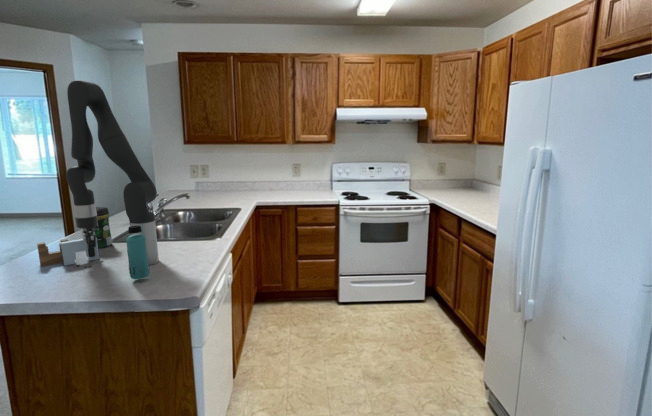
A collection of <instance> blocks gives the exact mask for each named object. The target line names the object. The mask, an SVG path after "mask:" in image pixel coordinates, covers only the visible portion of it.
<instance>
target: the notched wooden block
mask: <svg viewBox="0 0 652 416" xmlns="http://www.w3.org/2000/svg"><path fill="white" fill-rule="evenodd" d="M66 241H70V240H69V239H68V238H63V239H60V243H58V247H59V250H56V251H50V252H49V247H48V245H46V244H47V243H46V242H45V241H43V242H38V243H36V246H37V252H38V259H39V265H40V267H48V266H52V265H57V264H61V263H62V264H64V262H63V255H62V248H61V242H66Z"/></svg>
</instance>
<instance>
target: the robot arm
mask: <svg viewBox="0 0 652 416" xmlns="http://www.w3.org/2000/svg"><path fill="white" fill-rule="evenodd" d="M66 90H67V96H66V97H67V102H68V109H69V110H68V111H69V118H70V126H71V153H70V154H71V155H70V156H71V158H72V159H74V160H76V161H77V165H75V166H71V167H69V168H68V169H67V170H66V174H65V179H66V182H67V184H68V188H69V190H70V192H71V194H72V198H73V200H72V201H73V205H74V209H73V211H74V218H75V219H74V220H75V225H76V226H75V227H76V228H77V229H82V230H81V236H82V239H85V243H87V248H88V254H89V257H94V256H95V249H94V248H95V247H96V236H95V231H93V229H92V228H93V227H95V226H97V225H98V220H97V212H96V207H97V206H96V203H95V197H94V196H95V195H94V191H93V190H92V189H89V188H88V187H87V183H91V182H92V181H94V179H95V177H96V167H95V162H94V158H93V155H94V154H93V152H94V139H93V137H94V136H93V134H92V132H91V129H90V126H89V124H88V119H87V107H88V108H89V109H90V111H91V112H92V114H93V115H94V118H95V120H96V123H97V140H98V143H99V144H100V146H101V148H102V150H103V152H104V153H105V155H106V157H108V159H109V160H111V162H113V164H114V165H116V166H117V167H119V168H120V169H121V170H122V171H123V172H124V173H125V174H126V175H127V177H128V180H129V181H130V182H128V183H127V184H126V185H125V187H124V188H123V202H124V208H125V214H126V216H127V217H128V221H129V227H130V226H134V225H139V226H141V230H142V232H139V233H130V235H134V234H142V235H143V236H145V237H146V248H147V256H148V263H149V264H148V266H151V265H155V264H156V265H157V264H158V263H159V259H160V258H159V249H158V239H157V236H158V235H157V228H156V215H155V213H154V212H152V211H149V210H148V204H149V203H151V202H154V201H155V200H156V198H157V195H158V192H157V188H156V185H155V183H154V182H153V181H152V179H151V178H150V176H149V175H148V173H147V172H146V170H145V168H143V166H142V165H141V162H140V160H139V159H138V158H137V156H136V154H135V152H134V150H133V149H132V148H133V147H132V146H131V145H130V142H129V141H128V139H127V136H126V135H125V133H124V132H123V130H122V128H121V126H120V125H119V122H118V121H117V119H116V116H115V115H114V113H113V110H112V109H111V107H110V104H109V101H108V99H107V97H106V95H105V92H104V90H103V88H102V87H100V85H98V84H97V83H95V82H91V81H86V80H79V79H75V80H72V81H71V82H69V83H68V85H67V89H66ZM87 240H88V241H87ZM90 244H93V245H90Z"/></svg>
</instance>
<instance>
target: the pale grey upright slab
mask: <svg viewBox="0 0 652 416" xmlns="http://www.w3.org/2000/svg"><path fill="white" fill-rule="evenodd" d="M87 241H88V240H87ZM60 243H61V248H62V255H63V265H64V266H70V265H75V264H76V261H77V256H76V255H77V254H76V253H80V252H85V255H86V257H87V258H88V260H89V261H95V260H99V259H100V255H99V248H98V244H97V238H96V247H95V248H94V249H95V256H94V257H89V254H88V248H87V243H85V239H83V238H81V239H80V238H79V239H73V240H69V241H66V242H61V241H60ZM90 245H93V244H90Z"/></svg>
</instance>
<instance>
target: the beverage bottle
mask: <svg viewBox="0 0 652 416" xmlns="http://www.w3.org/2000/svg"><path fill="white" fill-rule="evenodd" d="M127 232H128V234H129V235H128V237H126V239H125V242H126V251H127V252H126V253H127V259H128V271H129V277H130V278H131V279H132V280H140V279H141V280H142V279H146V278H148V277H149V276H150V267H149V266H150V265H148V264H149V263H148V256H147V248H146V237H145V236H143V235H142V234H134V235H131V233H139V232H142V230H141V226H139V225H134V226H130V225H129V227H128V231H127Z"/></svg>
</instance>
